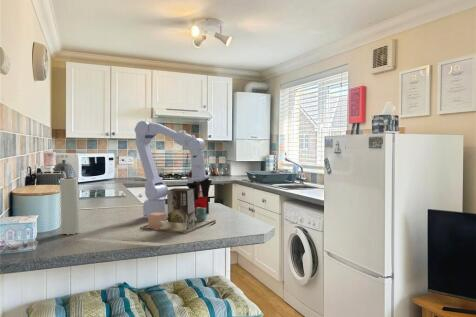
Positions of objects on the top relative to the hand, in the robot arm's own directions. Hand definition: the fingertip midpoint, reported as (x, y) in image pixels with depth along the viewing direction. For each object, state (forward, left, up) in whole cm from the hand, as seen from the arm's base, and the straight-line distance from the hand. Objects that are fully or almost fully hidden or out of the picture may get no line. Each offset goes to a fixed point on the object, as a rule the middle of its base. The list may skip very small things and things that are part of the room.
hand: (200, 198), depth 146 cm
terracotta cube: (-10, -16, -9) cm, 21 cm away
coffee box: (0, -14, -11) cm, 18 cm away
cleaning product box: (-15, +22, -11) cm, 28 cm away
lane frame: (-4, -10, -10) cm, 15 cm away
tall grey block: (-37, -34, -11) cm, 51 cm away
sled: (0, -10, -10) cm, 15 cm away
